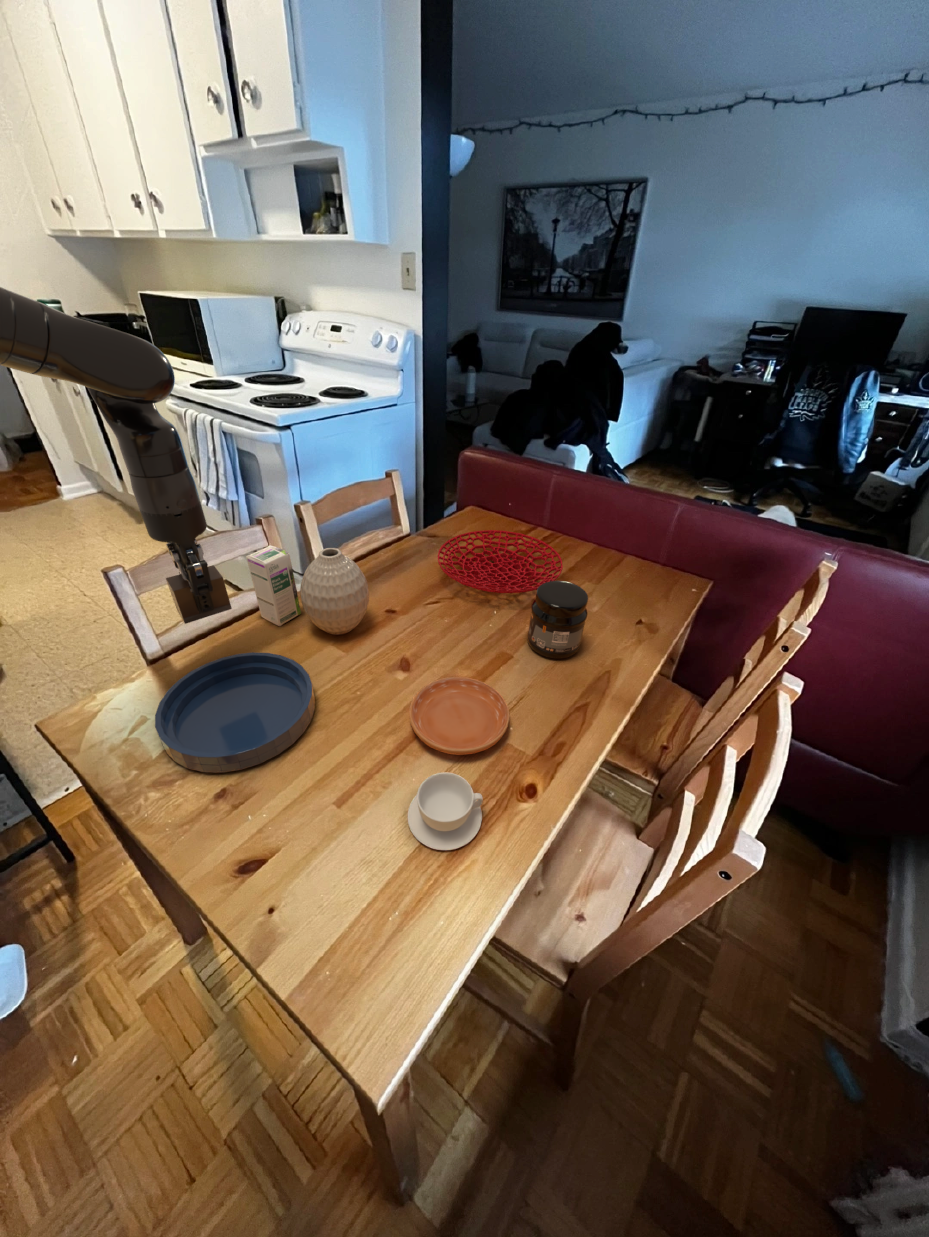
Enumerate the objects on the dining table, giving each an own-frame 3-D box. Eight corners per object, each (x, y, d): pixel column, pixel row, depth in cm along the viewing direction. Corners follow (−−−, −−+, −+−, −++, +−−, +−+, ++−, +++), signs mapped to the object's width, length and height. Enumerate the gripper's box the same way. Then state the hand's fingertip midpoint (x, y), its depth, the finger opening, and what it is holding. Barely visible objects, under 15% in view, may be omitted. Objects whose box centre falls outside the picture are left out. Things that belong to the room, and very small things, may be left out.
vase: (355, 601, 108) (348, 531, 98) (382, 632, 100) (377, 558, 90) (297, 619, 102) (283, 546, 92) (320, 653, 93) (308, 576, 84)
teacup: (410, 857, 62) (410, 836, 60) (405, 789, 70) (404, 768, 68) (488, 846, 64) (491, 825, 61) (474, 781, 72) (476, 760, 69)
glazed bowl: (187, 803, 67) (178, 785, 65) (147, 706, 81) (139, 688, 79) (339, 726, 79) (337, 709, 77) (282, 653, 93) (278, 636, 91)
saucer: (527, 736, 79) (530, 723, 77) (440, 779, 72) (441, 766, 70) (473, 677, 90) (474, 665, 88) (392, 709, 83) (391, 696, 81)
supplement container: (553, 622, 105) (562, 573, 98) (590, 649, 98) (603, 598, 91) (515, 639, 100) (522, 588, 93) (552, 668, 93) (562, 616, 86)
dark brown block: (185, 624, 76) (173, 591, 72) (177, 610, 79) (165, 577, 75) (232, 609, 80) (223, 576, 76) (222, 596, 82) (213, 564, 79)
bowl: (476, 624, 103) (477, 604, 100) (416, 561, 124) (416, 543, 121) (585, 591, 116) (589, 573, 113) (514, 539, 136) (516, 522, 133)
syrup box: (279, 627, 99) (266, 563, 91) (260, 617, 102) (245, 554, 93) (301, 614, 103) (290, 552, 95) (282, 604, 106) (269, 543, 97)
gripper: (127, 489, 71) (164, 590, 81) (151, 526, 62) (189, 634, 72) (184, 479, 75) (212, 577, 85) (214, 512, 66) (242, 617, 76)
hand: (201, 603), depth 78 cm, fingers closed on dark brown block, 4 cm apart
